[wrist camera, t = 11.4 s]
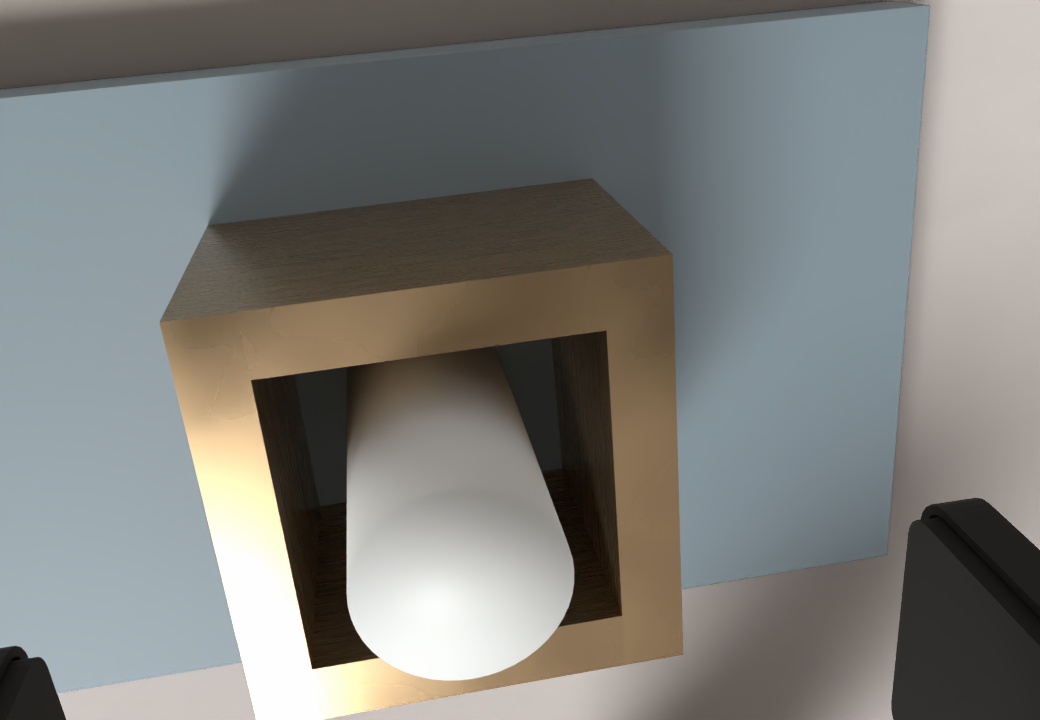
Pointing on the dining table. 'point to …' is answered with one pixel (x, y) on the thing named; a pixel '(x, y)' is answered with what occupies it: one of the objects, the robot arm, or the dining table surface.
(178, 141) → the post board
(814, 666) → the dining table surface
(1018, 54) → the dining table surface
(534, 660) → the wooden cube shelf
